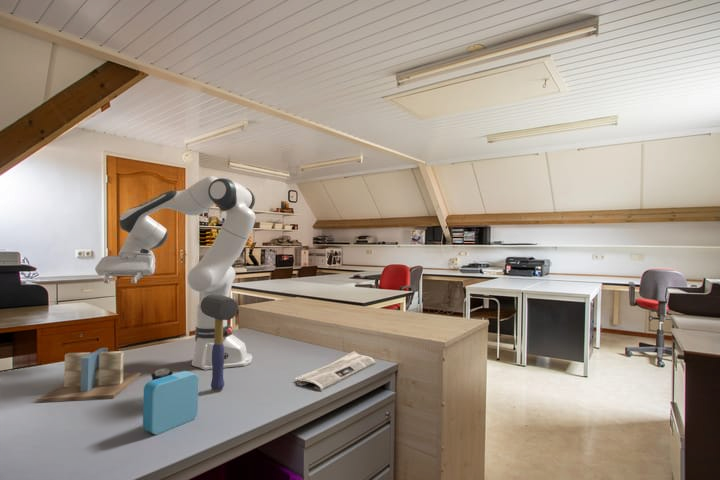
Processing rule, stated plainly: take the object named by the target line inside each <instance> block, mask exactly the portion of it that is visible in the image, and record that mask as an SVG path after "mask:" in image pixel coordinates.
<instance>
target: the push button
mask: <svg viewBox="0 0 720 480" xmlns="http://www.w3.org/2000/svg"><path fill="white" fill-rule="evenodd" d="M172 374H174V372H173V371H172V370H170V368H168V367H167V368H166V367H164V368H163V367H161V368H158V369H156V370H155V371H154V372H153V373H151V376H150V377H151V379H152V380H155V379H158V378H162V377H165V376H169V375H172ZM152 380H151V381H152Z"/></svg>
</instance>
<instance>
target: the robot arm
mask: <svg viewBox="0 0 720 480" xmlns="http://www.w3.org/2000/svg"><path fill="white" fill-rule="evenodd" d="M255 197H256V196H255V195H254V193H253V191H251V189H249V188H247V187H245V186H244V185H242V184H240V183H239V182H236V181H233V180H230V179H229V178H225V177H224V178H218V177H217V176H215V175H209V176H206V177H204V178H202V179H200V180H199V181H197V182H195V183H194V184H191V186H190V187H187V188H186V189H183V190H173V189H172V190H168V191H166V192H163V193H162V194H160V195H157V196H155V197H153V198H151V199H149V200H147V201H146V202H143V203H141V204H139V205H137V206H134V207H131V208H128V209H127V210H125V211H124V212H123V213H122V214H121V215H120V216H119V219H118V222H119V227H120V229H121V230H123V231H125V232H126V233H128V234H127V236H126V237H125V241H124V243H123V245H122V247H121V248H120V251H119V252H118V255H106V256H103V257H101V259H100V260H99V261H98V263H97V264H96V266H95V268H94V269H95V270H94V271H95V272H96V274H97V275H98V276H101V277H102V276H104V278H103V283H104V284H110V282H111V278H110V276H118V277H121V276H122V277H123V276H129V277H130V276H133V277H131V279H130V282H131V284H137V282H138V281H139V280H140V279H141V278H143V276H144V277H146V276H149V277H150V276H152V275H154V274H155V269H156V257H155V253H154V252H153V250H154V249H157V248H159V247H161V246H163V245H164V244H165V242H166V241H167V238H168V229H167V228H166V227H165V226H163V225H162V224H161V223H160V222H158V221H156V220H155V219H153V218H152V217H151V216H149V215H151V214H153V213H155V212H157V211H160V210H162V209H170V210H173V211H176V212H180V213H182V214H184V215H186V216H200V215H202V214H203V213H205V212H206V211H208V210H209V209H210V208H212V207H213V206H215V205H216V206H217V207H218V208H219V210H221V211H222V212H223V211H225V213H226V217H225V219H224V221H223V223H222V225H221V226H220V229H219V231H218V234H217V235H216V237H215V239H214V240H213V243H212V245H211V246H210V247H209V248H208V250H207V252H206V253H205V254H204V255H203V257H202V258H201V259H200V260H199V262H198V263H196V265H194V267H192V268H191V269H190V271H189V272H188V274H187V284H188V286H189V287H190V289H191V290H193V291H196V292H199V293H202V296H201V299H200V301H199V303H198V305H197V308H196V326H195V330H194V339H195V349H194V354H193V358H192V361H191V365H192V366H194V367H195V368H196V367H197V368H200V369H202V370H205V371H206V370H212V350H213V345H214V337H215V318H212V317H210V316H207V315H205V314H204V313H203V312H202V310H201V307H200V306H201V302H202V300H203V299H204V298H205V297H206V296H208V295H223V296H227V297H231V296H230V295H231V291H232V287H233V282H234V281H235V279H236V270H235V268H234V267H233V264H234V263H235V262H236V261H237V259H239V257H240V256H241V255H242V253H243V250H244V249H245V247H246V245H247V242H248V241H249V238H250V236H251V234H252V231H253V229H254V226H255V223H256V213H255V212H254V211H253V210H252V209H253V208H254V205H255V203H256V198H255ZM223 345H224V366H223V369H227V368H234V367H235V368H236V367H245V366H247V365H249V364H251V363H252V361H253V354H251V353H248V351H247V346H246V343H245V342H244V341H243V340H241V339H240V338H238V337H236V336H235V335H234V334H233V326H232V325H229V324H228V320H223Z"/></svg>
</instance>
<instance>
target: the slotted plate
mask: <svg viewBox="0 0 720 480" xmlns="http://www.w3.org/2000/svg"><path fill="white" fill-rule="evenodd" d="M101 352H109V347H101V348H99V349H96V350H95V351H93V352H91V354H89V355H87V356H85V357H83V358H81V388H80V392H83V391H89V390H90V389H92V388H93V387H95V370H96V369H99V354H100V353H101Z"/></svg>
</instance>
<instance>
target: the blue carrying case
mask: <svg viewBox="0 0 720 480" xmlns="http://www.w3.org/2000/svg"><path fill="white" fill-rule="evenodd" d="M142 398H143V400H142V403H143V405H142V406H143V407H142V408H143V409H142V429H144V430H145V431H148V432H149V433H151V434H152V435H153V434H154V435H155V436H156V435H160V434H162V433H165V432H167V431H169V430H172V429H174V428H177V427H179V426H181V425H182V426H183V425H184V424H187V423H188V422H191V421H193V420H195V419H196V417H197V416H198V412H199V375H197V374H196V373H193V372H190V371H187V370H183V371H180V372H176V373H173V374H172V375H169V376H165V377H162V378H158V379H155V380H150V381H147V382H146V383H145V385H144V387H143V397H142Z"/></svg>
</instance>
